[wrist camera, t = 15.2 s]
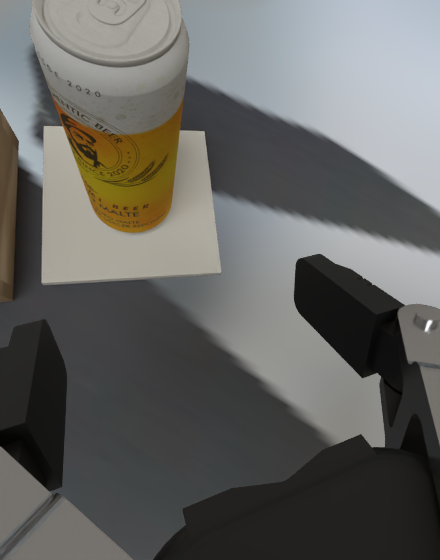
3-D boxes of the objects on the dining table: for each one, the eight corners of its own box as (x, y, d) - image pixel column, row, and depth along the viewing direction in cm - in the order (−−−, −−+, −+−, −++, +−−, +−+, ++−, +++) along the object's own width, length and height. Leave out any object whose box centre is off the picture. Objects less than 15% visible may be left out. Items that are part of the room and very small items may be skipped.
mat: (44, 285, 24) (41, 283, 24) (46, 131, 27) (43, 125, 27) (220, 274, 27) (221, 272, 26) (203, 135, 30) (204, 131, 30)
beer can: (75, 210, 25) (-22, 3, 11) (121, 154, 27) (88, -81, 13) (144, 251, 26) (134, 100, 11) (185, 193, 28) (220, 2, 13)
